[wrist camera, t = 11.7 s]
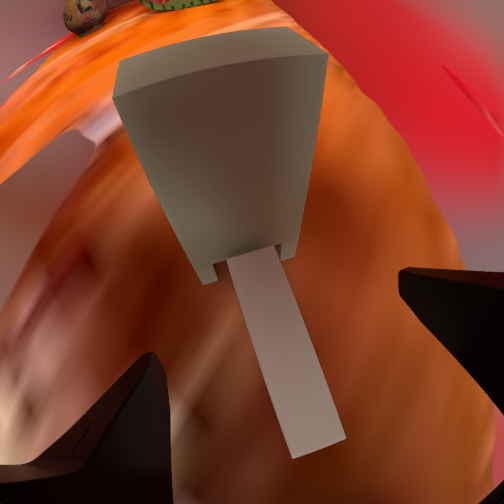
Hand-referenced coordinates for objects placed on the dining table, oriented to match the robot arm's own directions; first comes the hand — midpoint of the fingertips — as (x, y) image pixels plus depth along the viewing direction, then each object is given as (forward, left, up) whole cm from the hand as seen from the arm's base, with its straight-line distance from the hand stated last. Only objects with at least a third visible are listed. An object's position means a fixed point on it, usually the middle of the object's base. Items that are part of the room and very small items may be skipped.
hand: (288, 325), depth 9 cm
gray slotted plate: (+7, +1, -7) cm, 10 cm away
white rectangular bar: (+4, 0, -7) cm, 8 cm away
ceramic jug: (+97, +36, -7) cm, 103 cm away
